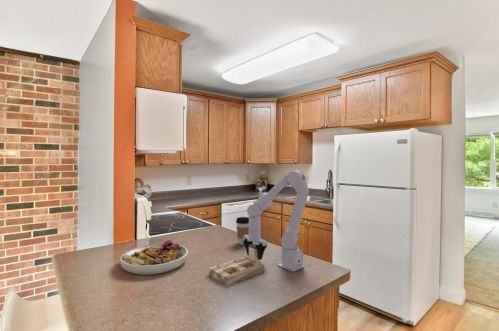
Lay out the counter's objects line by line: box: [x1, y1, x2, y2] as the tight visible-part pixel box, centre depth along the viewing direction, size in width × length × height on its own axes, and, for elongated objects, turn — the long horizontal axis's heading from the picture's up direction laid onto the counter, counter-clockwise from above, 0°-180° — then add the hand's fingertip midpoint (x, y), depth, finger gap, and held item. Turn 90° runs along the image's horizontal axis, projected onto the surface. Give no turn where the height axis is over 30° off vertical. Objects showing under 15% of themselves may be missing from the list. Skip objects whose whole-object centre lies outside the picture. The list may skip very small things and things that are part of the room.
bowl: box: [119, 239, 189, 276], centre depth 130 cm, size 30×30×8 cm
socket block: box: [208, 256, 265, 286], centre depth 119 cm, size 13×20×3 cm, turn 132°
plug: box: [248, 242, 262, 263], centre depth 133 cm, size 4×4×8 cm
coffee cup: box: [235, 216, 249, 245], centre depth 161 cm, size 8×8×15 cm
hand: (254, 257), depth 133 cm, fingers open, 7 cm apart
